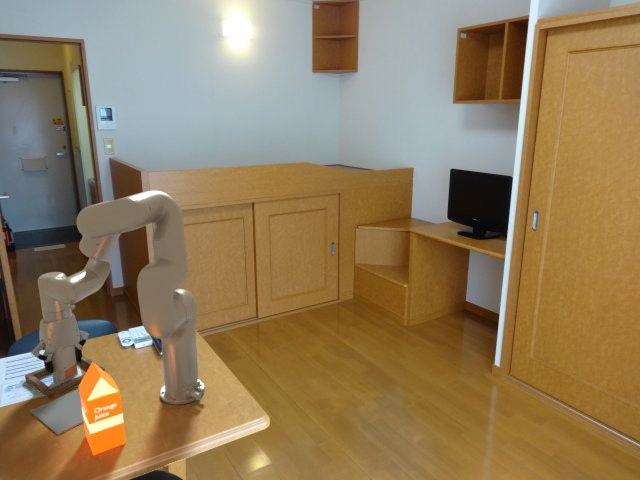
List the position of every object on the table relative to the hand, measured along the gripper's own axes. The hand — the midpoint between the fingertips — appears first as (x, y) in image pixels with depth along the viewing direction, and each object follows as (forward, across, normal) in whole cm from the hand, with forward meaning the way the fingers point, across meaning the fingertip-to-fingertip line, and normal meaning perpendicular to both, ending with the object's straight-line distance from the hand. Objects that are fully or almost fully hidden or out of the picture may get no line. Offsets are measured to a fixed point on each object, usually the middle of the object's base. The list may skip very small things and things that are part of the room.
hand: (64, 366), depth 146 cm
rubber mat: (+4, +7, +18) cm, 20 cm away
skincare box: (+4, 0, 0) cm, 4 cm away
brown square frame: (+4, 0, 0) cm, 4 cm away
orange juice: (+4, +8, +37) cm, 38 cm away
